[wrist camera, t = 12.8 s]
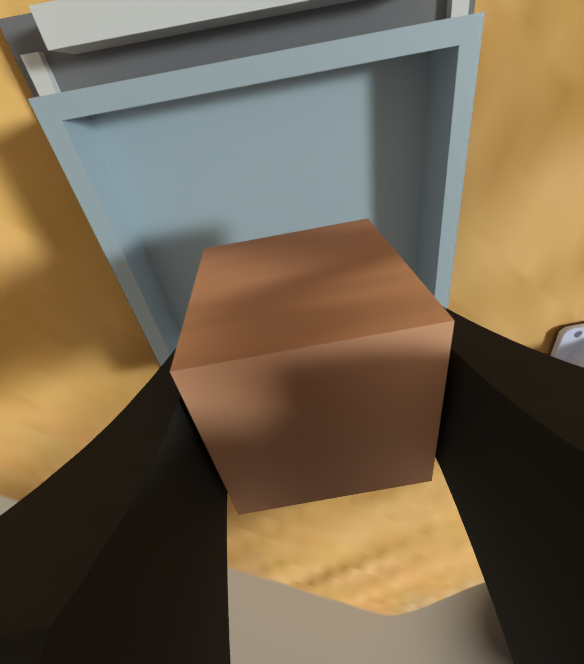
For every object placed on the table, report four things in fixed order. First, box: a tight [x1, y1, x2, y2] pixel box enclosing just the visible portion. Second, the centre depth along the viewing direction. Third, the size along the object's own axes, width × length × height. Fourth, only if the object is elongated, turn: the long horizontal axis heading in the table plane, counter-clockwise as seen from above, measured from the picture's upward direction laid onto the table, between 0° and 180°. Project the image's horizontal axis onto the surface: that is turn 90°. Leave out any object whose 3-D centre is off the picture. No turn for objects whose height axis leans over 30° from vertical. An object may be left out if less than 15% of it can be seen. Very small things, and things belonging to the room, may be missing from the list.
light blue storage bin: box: [28, 12, 485, 366], centre depth 15 cm, size 12×12×4 cm
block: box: [170, 218, 455, 514], centre depth 9 cm, size 4×4×5 cm
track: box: [0, 0, 475, 97], centre depth 19 cm, size 16×28×3 cm, turn 9°
